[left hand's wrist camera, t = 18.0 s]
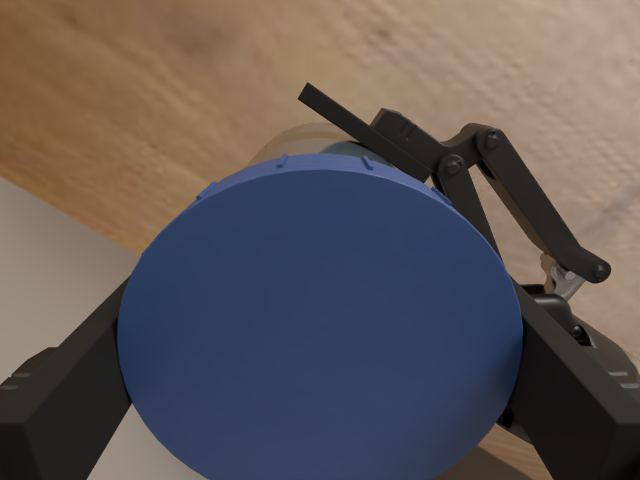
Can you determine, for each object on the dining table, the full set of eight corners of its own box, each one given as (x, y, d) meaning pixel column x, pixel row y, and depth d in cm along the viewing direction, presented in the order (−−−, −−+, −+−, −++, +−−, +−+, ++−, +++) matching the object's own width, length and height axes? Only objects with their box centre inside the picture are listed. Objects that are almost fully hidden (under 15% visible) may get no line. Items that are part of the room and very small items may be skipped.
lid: (558, 329, 13) (601, 374, 11) (315, 493, 15) (314, 554, 13) (327, 62, 10) (329, 57, 8) (79, 319, 12) (34, 362, 10)
